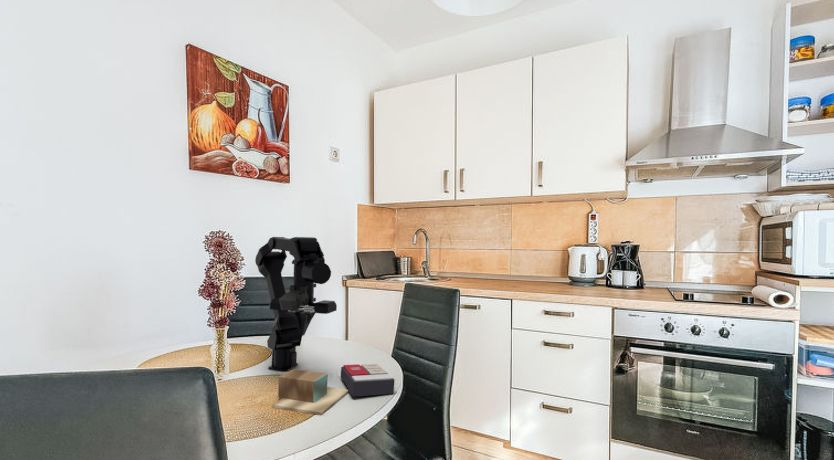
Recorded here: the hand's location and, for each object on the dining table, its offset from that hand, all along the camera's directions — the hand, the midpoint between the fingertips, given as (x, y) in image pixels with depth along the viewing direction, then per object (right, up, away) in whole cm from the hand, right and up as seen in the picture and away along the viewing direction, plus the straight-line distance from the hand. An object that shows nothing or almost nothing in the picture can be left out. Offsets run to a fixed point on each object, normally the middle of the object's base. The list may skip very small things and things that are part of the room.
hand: (302, 335), depth 110 cm
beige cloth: (+7, -12, -15) cm, 20 cm away
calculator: (+19, -12, -6) cm, 23 cm away
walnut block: (0, -9, -13) cm, 15 cm away
